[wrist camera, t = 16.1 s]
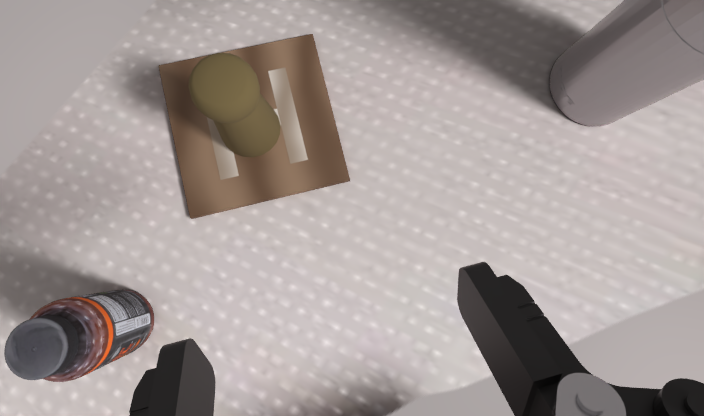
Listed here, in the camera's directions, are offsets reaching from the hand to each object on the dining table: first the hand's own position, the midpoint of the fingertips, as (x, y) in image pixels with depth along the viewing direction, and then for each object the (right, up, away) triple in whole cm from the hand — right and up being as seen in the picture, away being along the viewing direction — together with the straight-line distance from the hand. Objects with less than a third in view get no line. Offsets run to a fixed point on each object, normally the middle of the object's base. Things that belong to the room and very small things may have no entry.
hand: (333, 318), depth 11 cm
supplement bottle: (-21, -7, +25) cm, 34 cm away
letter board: (-9, +12, +28) cm, 32 cm away
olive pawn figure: (-10, +11, +27) cm, 31 cm away
